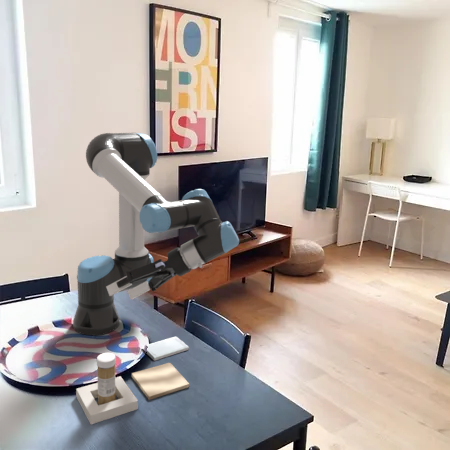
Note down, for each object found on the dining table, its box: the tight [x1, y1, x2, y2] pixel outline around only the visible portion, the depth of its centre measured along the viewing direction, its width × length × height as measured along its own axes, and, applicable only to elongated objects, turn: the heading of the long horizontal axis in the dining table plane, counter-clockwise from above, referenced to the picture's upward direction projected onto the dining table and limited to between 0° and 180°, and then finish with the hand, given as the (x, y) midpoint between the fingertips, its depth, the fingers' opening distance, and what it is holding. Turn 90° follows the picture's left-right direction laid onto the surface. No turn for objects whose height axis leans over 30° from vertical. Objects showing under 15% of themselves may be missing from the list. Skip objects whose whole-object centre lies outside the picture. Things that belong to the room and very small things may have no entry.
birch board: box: [131, 362, 190, 401], centre depth 128 cm, size 12×12×1 cm
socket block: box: [75, 375, 139, 425], centre depth 118 cm, size 12×12×2 cm
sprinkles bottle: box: [96, 352, 117, 406], centre depth 117 cm, size 5×5×13 cm
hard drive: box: [146, 336, 190, 361], centre depth 145 cm, size 2×8×12 cm
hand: (119, 293), depth 129 cm, fingers open, 13 cm apart
